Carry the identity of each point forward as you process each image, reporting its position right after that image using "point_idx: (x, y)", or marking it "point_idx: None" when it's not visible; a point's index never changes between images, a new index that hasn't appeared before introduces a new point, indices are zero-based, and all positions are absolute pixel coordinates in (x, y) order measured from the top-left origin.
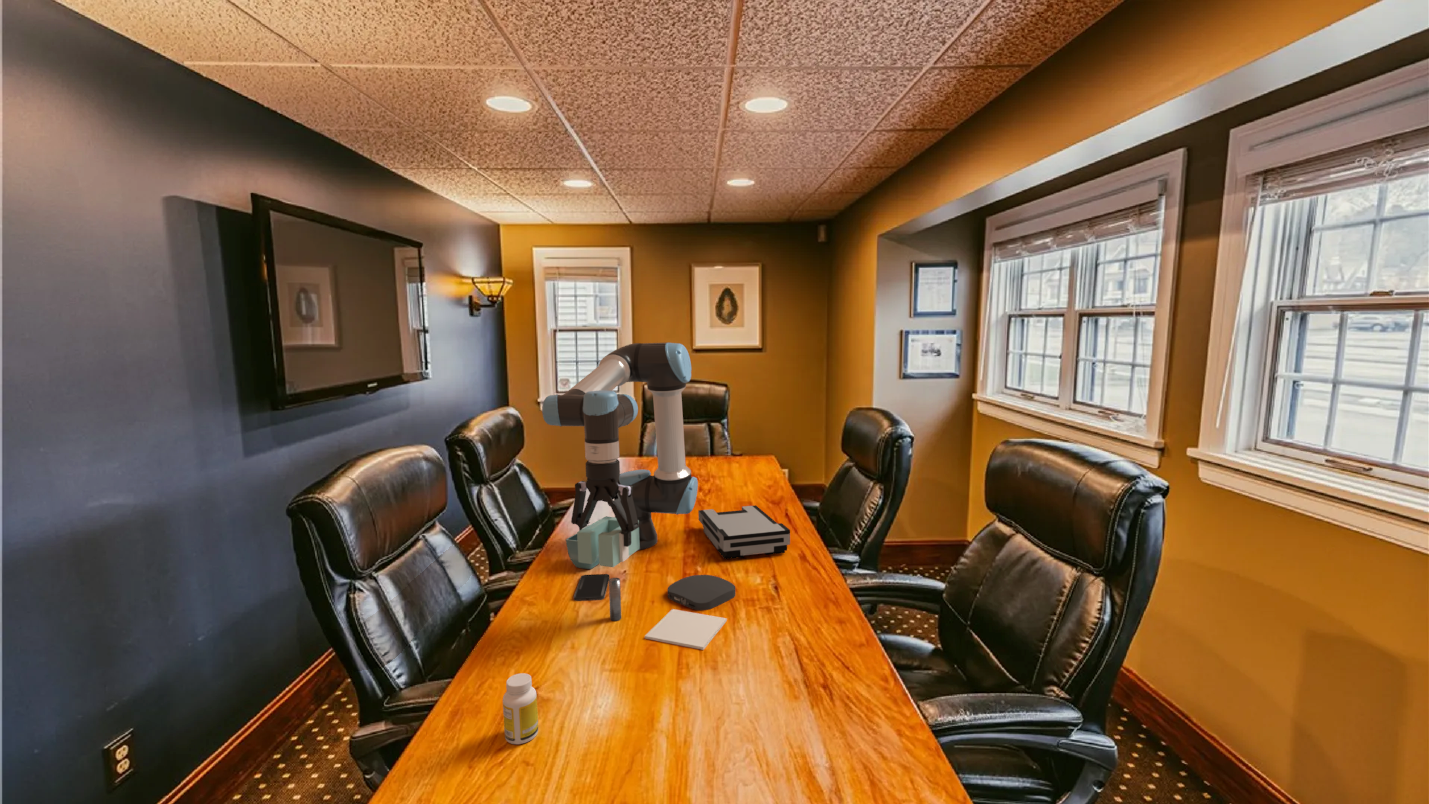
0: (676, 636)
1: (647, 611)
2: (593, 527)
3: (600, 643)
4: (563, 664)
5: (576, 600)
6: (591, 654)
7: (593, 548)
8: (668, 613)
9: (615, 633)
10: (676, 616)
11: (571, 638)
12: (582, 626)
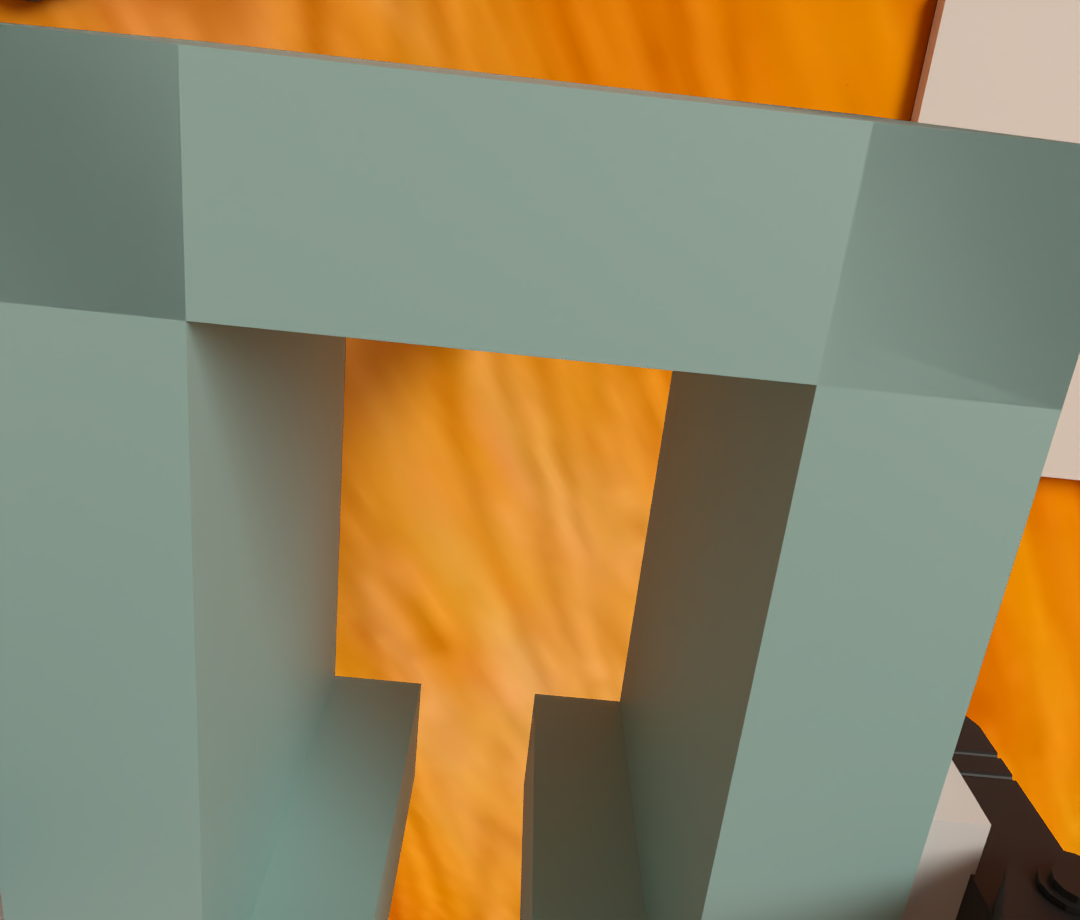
0: (1061, 413)
1: (727, 41)
2: (178, 914)
3: (576, 566)
4: (481, 791)
5: (35, 1)
6: (581, 680)
7: (390, 874)
8: (932, 77)
9: (616, 434)
10: (1009, 115)
11: (368, 556)
12: (347, 401)
